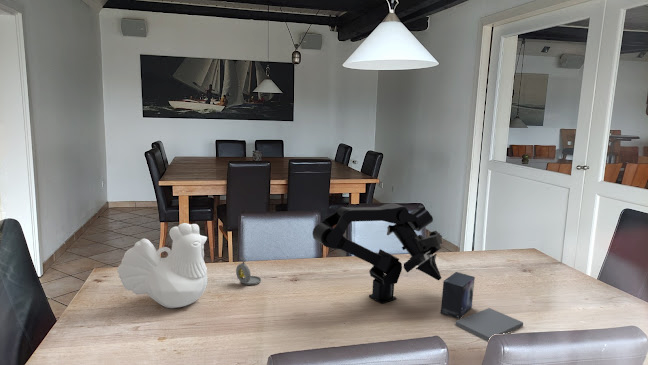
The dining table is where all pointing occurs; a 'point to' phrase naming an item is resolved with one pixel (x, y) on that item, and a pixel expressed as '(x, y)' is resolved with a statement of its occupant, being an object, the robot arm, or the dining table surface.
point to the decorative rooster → (167, 268)
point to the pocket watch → (246, 274)
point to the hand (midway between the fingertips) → (440, 279)
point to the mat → (488, 323)
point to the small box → (457, 295)
